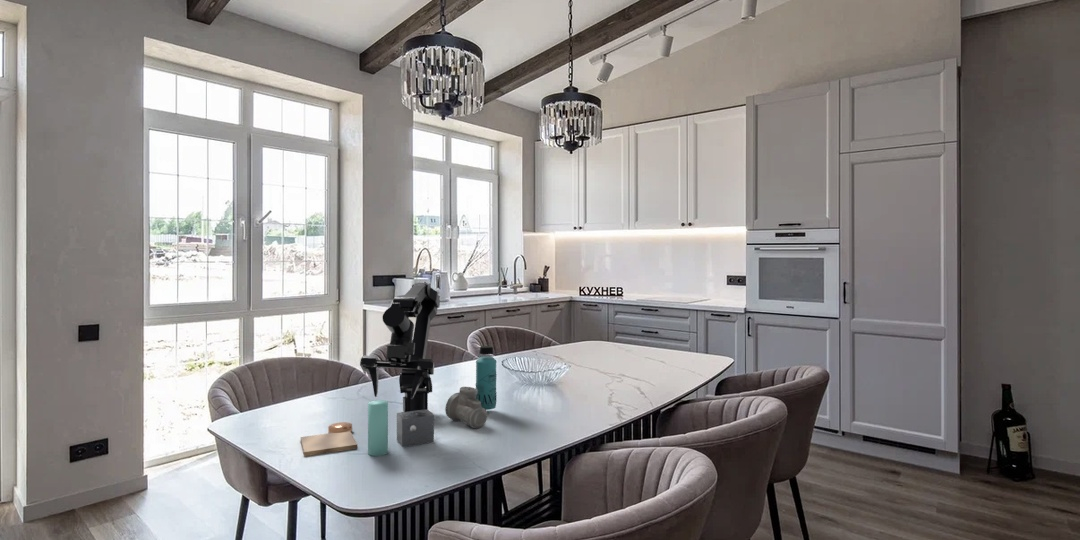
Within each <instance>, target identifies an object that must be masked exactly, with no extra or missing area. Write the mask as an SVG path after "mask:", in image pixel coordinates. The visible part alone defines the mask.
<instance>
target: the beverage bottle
mask: <svg viewBox="0 0 1080 540" xmlns="http://www.w3.org/2000/svg"><path fill="white" fill-rule="evenodd" d="M479 354H480V355H487V356H480V357H478V358H477V360H475V367H476V368H475V384H474V385H475V389H477V390H478V391H477V395H476V399H477V400H479V401H480V402H481V407H483V408H484V409H485V410H486V411H488V410H493V409H495V408H496V407H497V394H498V393H497V377H498V376H497V375H498V373H497V360H496V358H494V356H488V355H492V354H493V355H494V347H493V346H492V345H483V346H480V347H479Z"/></svg>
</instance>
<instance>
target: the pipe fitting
mask: <svg viewBox="0 0 1080 540" xmlns="http://www.w3.org/2000/svg"><path fill="white" fill-rule="evenodd" d="M477 391H478V390H477V389H476V387H475V388H474V387H471V386H461V387H459V391H458V392H456V393H453V394H452V395H451V396H450V397H448V399H447V401H446V404H445V408H444V411H445V415H446V416H447V418H449V419H450V420H452V421H453V422H463V423H465V424H466V425H467V426H469V427H471V428H473V429H480V428H482V427H484V425H485V424H486V423H487V421H488V410H485V409H484V408H483V407H481V402H480V401H479V400H477V399H476V395H477Z"/></svg>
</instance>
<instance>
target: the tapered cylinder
mask: <svg viewBox="0 0 1080 540" xmlns="http://www.w3.org/2000/svg"><path fill="white" fill-rule="evenodd" d="M388 452H389V402H388V401H387V400H381V399H379V400H378V399H376V400H373V401H369V402H368V403H367V454H368V456H370V457H371V456H372V457H380V456H384V455H386V454H388Z"/></svg>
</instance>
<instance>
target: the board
mask: <svg viewBox="0 0 1080 540" xmlns="http://www.w3.org/2000/svg"><path fill="white" fill-rule="evenodd" d="M300 444H301V448H302V453H303V456H304V457H310V456H314V455H315V456H316V455H322V454H329V453H335V452H336V453H337V452H344V451H349V450H355V449H358V443H357V441H356V439H355V438H354V435H353V432H352V433H351V432H350V431H343V432H336V433H328V432H327V433H322V434H321V433H320V434H314V435H306V436H300Z"/></svg>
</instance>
